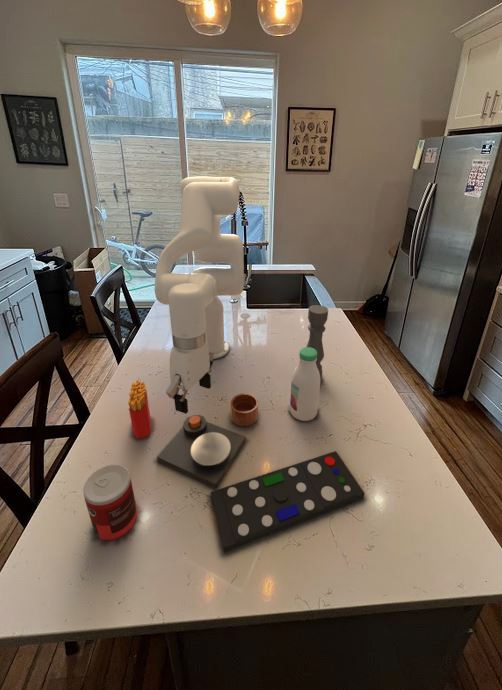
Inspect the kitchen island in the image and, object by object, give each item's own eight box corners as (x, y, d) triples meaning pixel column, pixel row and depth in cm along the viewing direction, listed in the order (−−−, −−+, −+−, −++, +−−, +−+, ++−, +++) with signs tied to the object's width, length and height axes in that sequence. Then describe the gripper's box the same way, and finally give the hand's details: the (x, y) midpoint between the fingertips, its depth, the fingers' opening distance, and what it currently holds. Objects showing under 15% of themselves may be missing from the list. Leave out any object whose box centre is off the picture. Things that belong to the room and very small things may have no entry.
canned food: (102, 503, 67) (92, 465, 63) (142, 500, 68) (135, 462, 64) (87, 544, 60) (74, 504, 56) (131, 541, 61) (123, 501, 57)
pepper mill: (321, 386, 102) (328, 315, 93) (301, 383, 104) (306, 312, 94) (321, 374, 108) (329, 305, 98) (303, 371, 109) (308, 303, 99)
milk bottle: (319, 405, 95) (325, 346, 87) (314, 425, 88) (320, 362, 80) (293, 399, 97) (297, 341, 89) (286, 417, 90) (290, 356, 82)
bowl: (225, 421, 88) (225, 407, 86) (238, 404, 95) (238, 390, 93) (250, 431, 86) (250, 416, 84) (262, 412, 92) (262, 398, 90)
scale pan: (182, 457, 74) (182, 455, 74) (205, 428, 82) (205, 427, 82) (217, 472, 71) (217, 471, 71) (237, 441, 79) (237, 440, 79)
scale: (157, 461, 77) (156, 451, 76) (192, 420, 89) (192, 411, 87) (215, 488, 71) (215, 479, 70) (245, 440, 83) (245, 431, 81)
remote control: (363, 497, 70) (364, 491, 69) (224, 552, 60) (223, 545, 59) (335, 455, 79) (336, 449, 78) (211, 496, 69) (210, 490, 68)
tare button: (187, 426, 83) (186, 421, 83) (193, 418, 86) (193, 414, 85) (196, 429, 82) (196, 425, 82) (202, 422, 85) (202, 417, 84)
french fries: (134, 417, 89) (127, 378, 84) (151, 414, 90) (145, 375, 85) (133, 444, 81) (125, 403, 76) (151, 440, 82) (145, 399, 77)
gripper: (197, 318, 83) (201, 374, 89) (149, 352, 68) (158, 417, 75) (223, 324, 80) (225, 382, 87) (179, 361, 66) (185, 427, 72)
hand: (194, 398), depth 81 cm, fingers open, 9 cm apart
